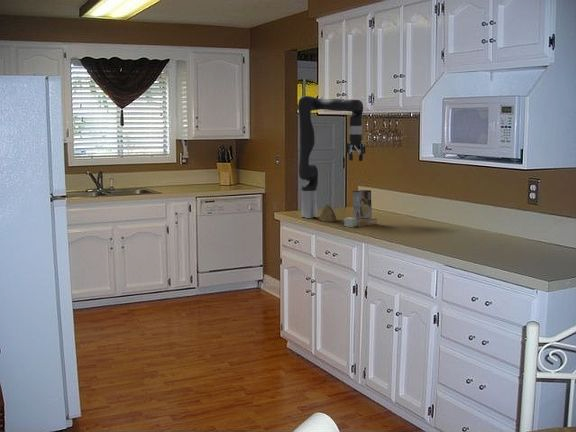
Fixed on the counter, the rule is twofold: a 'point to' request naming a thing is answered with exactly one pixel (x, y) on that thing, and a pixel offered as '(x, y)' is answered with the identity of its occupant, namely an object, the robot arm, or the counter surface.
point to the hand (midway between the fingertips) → (355, 160)
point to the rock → (327, 214)
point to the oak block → (366, 221)
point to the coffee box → (362, 204)
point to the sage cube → (350, 222)
